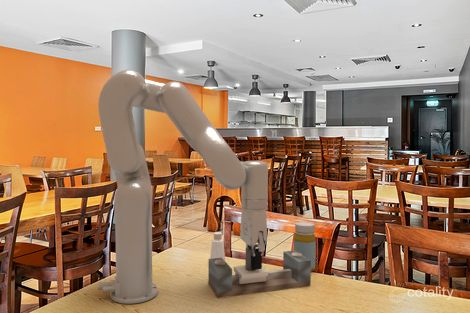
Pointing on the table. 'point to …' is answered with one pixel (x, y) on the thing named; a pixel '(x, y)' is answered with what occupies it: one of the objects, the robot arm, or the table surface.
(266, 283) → the rail track
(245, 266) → the carriage
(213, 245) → the pepper shaker
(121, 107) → the robot arm
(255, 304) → the table surface
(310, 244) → the bottle
